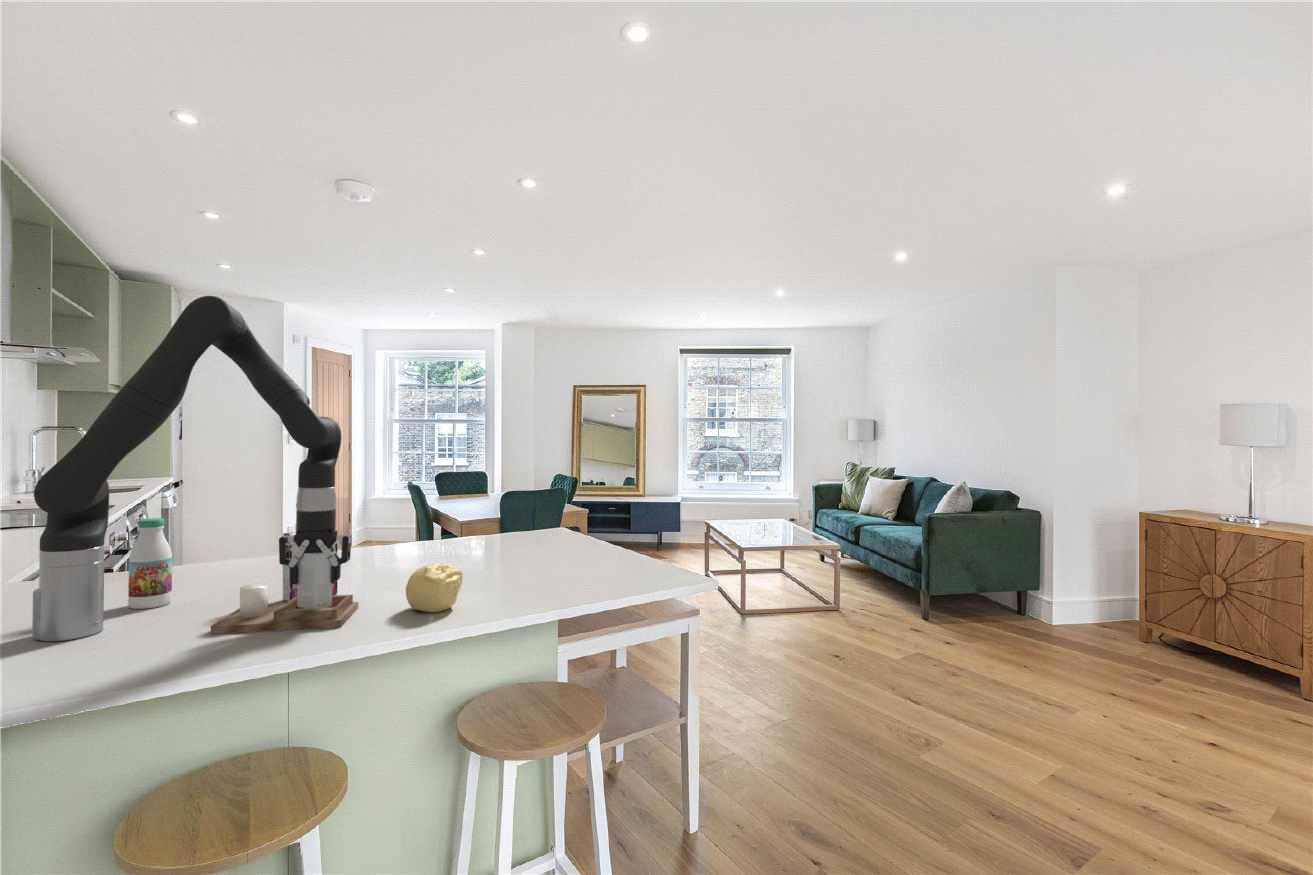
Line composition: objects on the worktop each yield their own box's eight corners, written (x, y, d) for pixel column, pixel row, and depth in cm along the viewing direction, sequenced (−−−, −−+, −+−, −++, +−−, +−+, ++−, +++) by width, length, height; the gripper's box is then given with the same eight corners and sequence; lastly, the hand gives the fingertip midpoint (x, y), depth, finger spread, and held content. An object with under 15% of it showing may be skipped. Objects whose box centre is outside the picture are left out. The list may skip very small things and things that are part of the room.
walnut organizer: (210, 633, 121) (211, 596, 121) (242, 613, 134) (242, 579, 134) (340, 627, 126) (341, 591, 126) (358, 608, 140) (358, 576, 140)
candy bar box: (328, 590, 154) (329, 527, 154) (338, 594, 151) (338, 529, 151) (280, 599, 145) (281, 532, 145) (289, 603, 142) (290, 534, 142)
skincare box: (332, 606, 132) (333, 551, 132) (314, 611, 128) (315, 555, 128) (314, 602, 134) (315, 548, 134) (295, 607, 131) (297, 552, 130)
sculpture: (443, 618, 134) (444, 569, 134) (395, 614, 136) (396, 566, 136) (469, 604, 145) (470, 559, 145) (424, 600, 147) (425, 556, 147)
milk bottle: (121, 606, 138) (122, 519, 138) (161, 598, 144) (162, 515, 144) (137, 611, 134) (138, 522, 134) (178, 603, 141) (179, 518, 141)
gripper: (356, 505, 136) (355, 578, 137) (286, 505, 133) (285, 580, 133) (347, 509, 129) (345, 586, 129) (272, 510, 126) (271, 588, 126)
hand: (315, 582), depth 131 cm, fingers closed on skincare box, 7 cm apart
